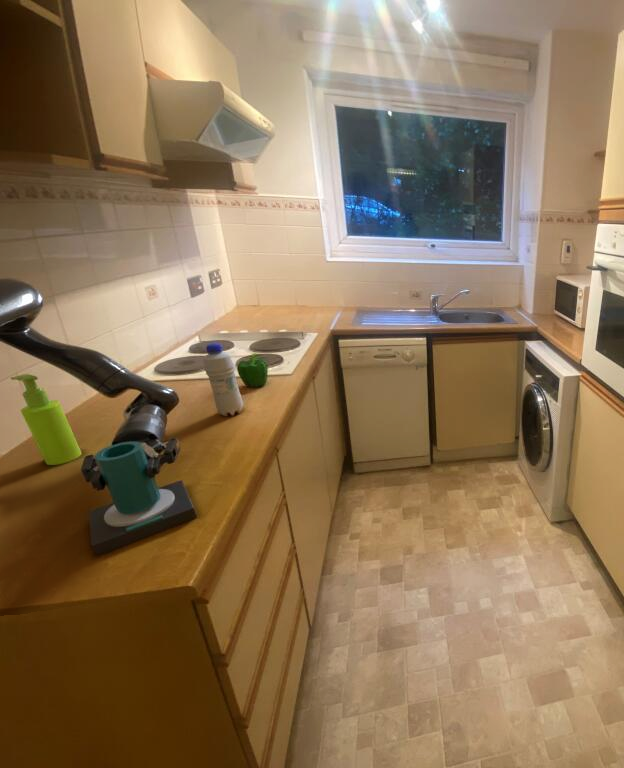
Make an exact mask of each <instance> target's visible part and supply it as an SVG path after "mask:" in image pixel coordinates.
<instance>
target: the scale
mask: <svg viewBox="0 0 624 768" xmlns="http://www.w3.org/2000/svg"><path fill="white" fill-rule="evenodd" d="M158 489H159V492H160V495H161V497H160V499H159V501H158V502H157V503H155V504H154V505H153V506H151V507H149V508H147V509H145V510H142V511H139V512H136V513H130V514H122V513H119V512H118V511H117V509H116V507H115V505H114V502H112V503H109V504H106V505H103V506H100V507H96V508H94V509H91V510H88V521H89V532H90V542H91V543H90V544H91V545H90V546H91V548H92V550H93V553H94V555H95V557H98V556H100V555H104V554H105V553H108V552H111V551H114V550H117V549H119V548H122V547H124V546H127V545H130V544H132V543H134V542H137V541H140V540H142V539H145V538H148V537H150V536H153V535H155V534H157V533H160V532H162V531H165V530H168V529H170V528H173V527H176V526H178V525H181V524H184V523H186V522H188V521H191V520H194V519H196V518H197V517H198V516H197V513H196V510H195V507H194V505H193V503H192V500H191V498H190V496H189V493H188V491H187V488H186V486H185V484H184V482H183V479H181V480H178V481H175V482H171V483H169V484H166V485H162V486H159V487H158Z"/></svg>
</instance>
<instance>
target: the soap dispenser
mask: <svg viewBox="0 0 624 768" xmlns="http://www.w3.org/2000/svg"><path fill="white" fill-rule="evenodd" d="M10 379H11V381H20V382H22V383H23V385H24V387H25V391H24V392H22V393H21V394H22V397H23V399H24V401H25V403H26V406H24V407H23V408H21V409H20V412H21V414H22V416H23V419H24V421H25V423H26V425H27V427H28V429H29V432H30V434H31V436H32V437H33V440H34V442H35V444H36V445H37V448H38V450H39V452H40V454H41V456H42V458H43V460H44V462H45V465H47V466H58V465H62V464H65V463H66V464H67V463H69V462H72V461H74V460H77V459H78V458H80V457H81V456H82V450H81V449H80V446H79V444H78V441H77V439H76V437H75V435H74V433H73V430H72V428H71V426H70V423H69V421H68V418H67V417H66V415H65V412H64V410H63V407H62V405H61V403H60V401H58V400H50V398H49V395H48V392H47V391H46V389H45V388H44V387H43V388H42V387H38V385H37V382H36V380H39V377H37V376H36V375H33V374H28V373H24V374H19V375H16V376H12V377H10Z"/></svg>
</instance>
